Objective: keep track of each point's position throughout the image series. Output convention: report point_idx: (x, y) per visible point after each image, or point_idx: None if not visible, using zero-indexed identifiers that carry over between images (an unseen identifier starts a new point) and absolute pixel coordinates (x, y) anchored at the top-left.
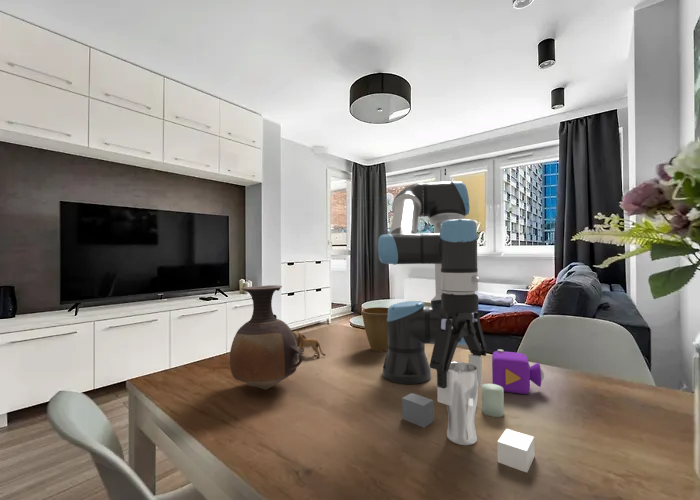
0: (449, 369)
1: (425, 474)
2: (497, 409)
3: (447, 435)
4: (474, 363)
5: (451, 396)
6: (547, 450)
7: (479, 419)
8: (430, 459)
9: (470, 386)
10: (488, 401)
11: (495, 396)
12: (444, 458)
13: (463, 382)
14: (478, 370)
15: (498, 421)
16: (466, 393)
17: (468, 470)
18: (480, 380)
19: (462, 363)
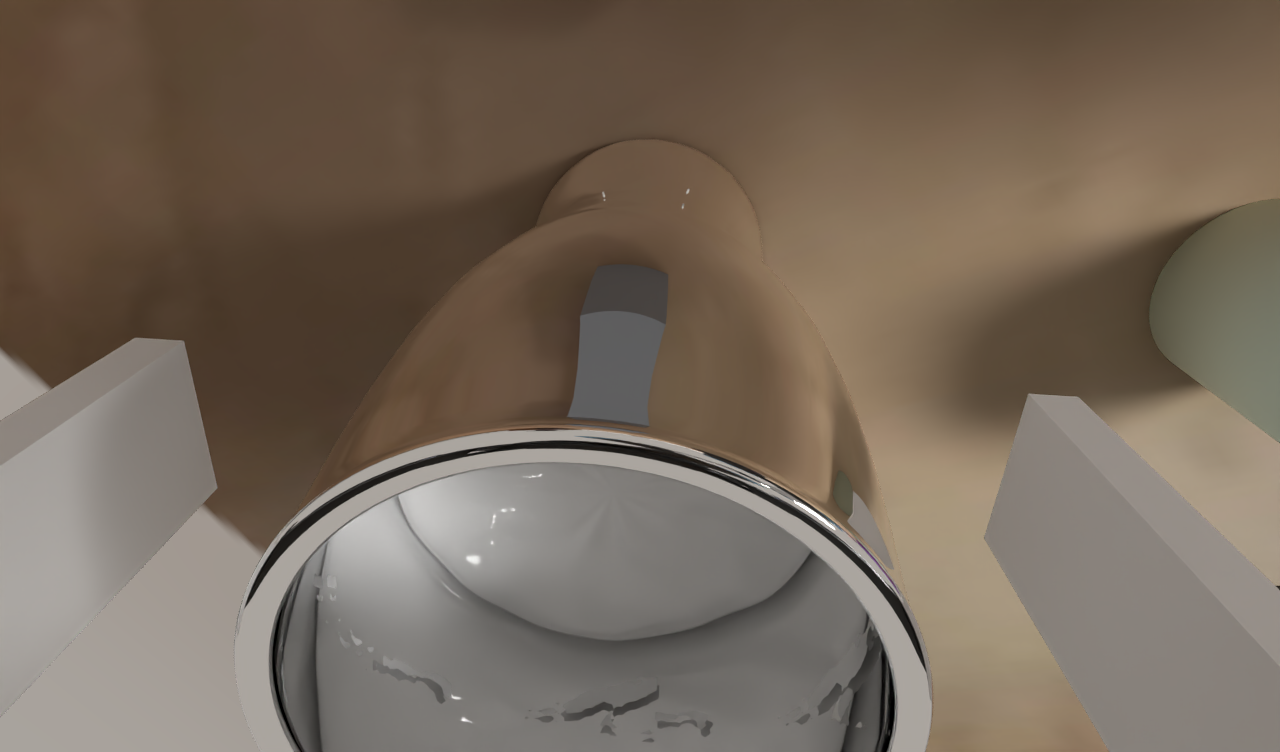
0: (236, 633)
1: (92, 254)
2: (1200, 379)
3: (569, 172)
4: (1187, 727)
5: (150, 548)
6: None
7: (1036, 252)
8: (236, 203)
9: (479, 691)
10: (1236, 338)
11: (1276, 430)
12: (322, 270)
13: (385, 682)
14: (1091, 685)
15: (1075, 378)
16: (457, 593)
17: (336, 422)
18: (1016, 591)
19: (896, 656)
